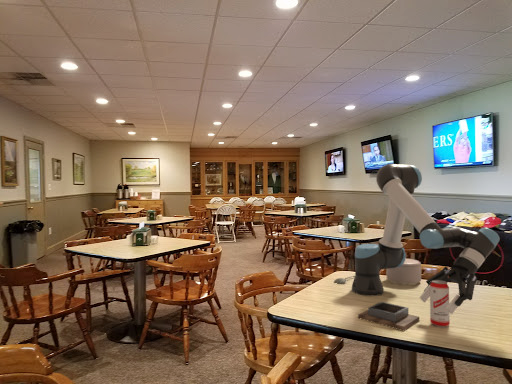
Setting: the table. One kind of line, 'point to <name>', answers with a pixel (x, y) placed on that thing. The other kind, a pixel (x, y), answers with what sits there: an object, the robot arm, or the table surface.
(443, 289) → the beer can
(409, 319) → the keeper board
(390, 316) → the grey shallow square box
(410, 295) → the table surface
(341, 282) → the soupspoon
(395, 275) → the container
